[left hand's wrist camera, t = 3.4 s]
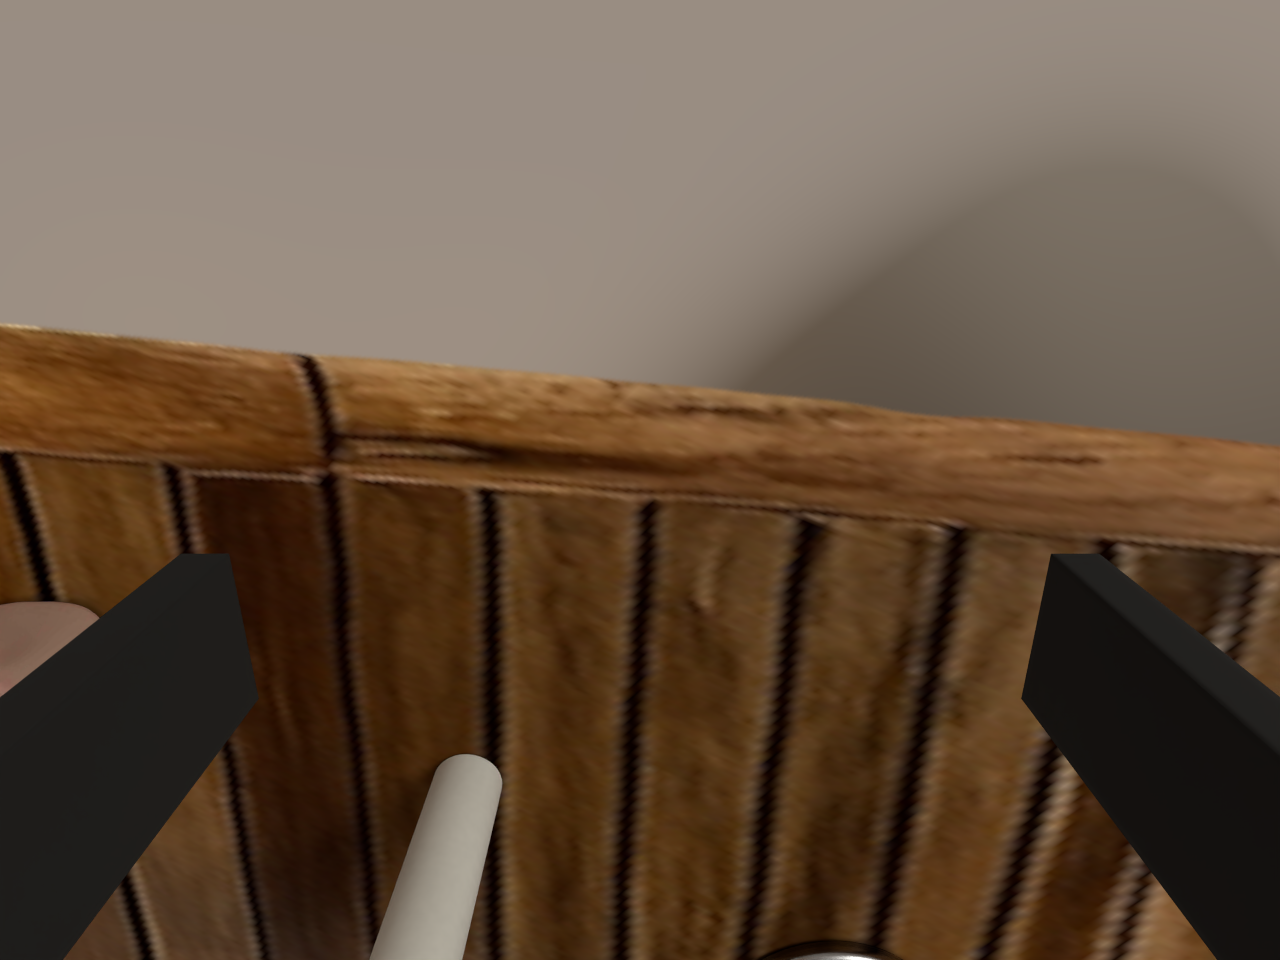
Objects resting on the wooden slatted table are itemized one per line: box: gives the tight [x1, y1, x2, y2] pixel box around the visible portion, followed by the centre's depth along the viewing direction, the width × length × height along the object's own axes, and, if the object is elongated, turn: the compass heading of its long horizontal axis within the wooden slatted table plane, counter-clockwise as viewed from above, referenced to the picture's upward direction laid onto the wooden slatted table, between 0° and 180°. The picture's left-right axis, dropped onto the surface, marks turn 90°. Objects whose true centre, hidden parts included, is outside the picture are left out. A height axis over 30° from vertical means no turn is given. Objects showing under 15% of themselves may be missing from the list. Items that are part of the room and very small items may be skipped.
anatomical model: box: [0, 602, 99, 697], centre depth 44 cm, size 13×4×12 cm
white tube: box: [370, 754, 502, 960], centre depth 40 cm, size 4×4×19 cm
